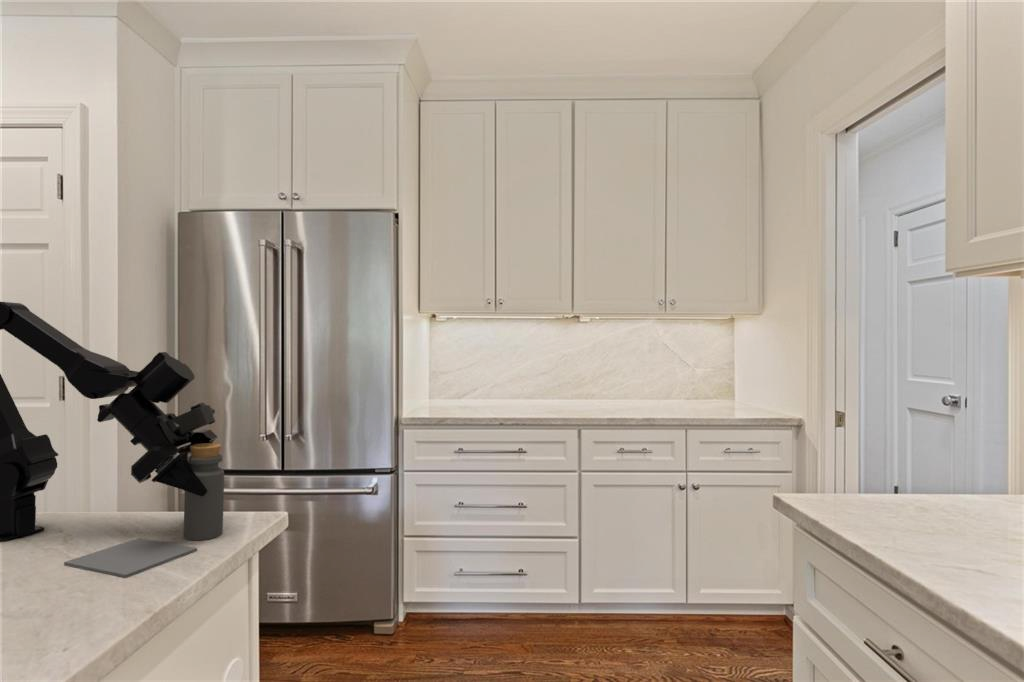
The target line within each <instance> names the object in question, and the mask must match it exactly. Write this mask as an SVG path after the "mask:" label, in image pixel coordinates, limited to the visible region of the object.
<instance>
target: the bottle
mask: <svg viewBox="0 0 1024 682" xmlns="http://www.w3.org/2000/svg"><path fill="white" fill-rule="evenodd" d="M221 449H222V445H221V444H220V443H217V442H216V443H214V442H213V443H202V444H195V445H191V446H190V450H191V455H192V456H190V457H188V463H189V464H192V471H193V472H194V473H195V474H196V476H197V477H198V478H199V480H200V481H201V482H202V484H203V485H204V486H205V488H206V489H207V491H208V492H207V493H206V494H205V495H204V496H199V495H196V494H193V493H190V492H187V491H185V490H184V499H183V500H184V503H183V505H184V506H183V507H184V509H183V538H184V539H186V540H188V541H206V540H207V541H208V540H211V539H215V538H218V537H221V536H222V534H223V529H224V503H225V502H224V498H225V497H224V496H225V495H224V494H225V470H224V469H223V468H221V467H220V466H219V463H221V462H223V455H222V454H220V452H221Z"/></svg>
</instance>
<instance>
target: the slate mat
mask: <svg viewBox="0 0 1024 682" xmlns="http://www.w3.org/2000/svg"><path fill="white" fill-rule="evenodd" d="M197 551H198V547H196V546H195V547H194V546H189V545H183V544H177V543H172V542H166V541H161V540H154V539H149V538H143V537H138V538H135V539H131V540H128V541H125V542H123V543H119V544H117V545H113V546H110V547H107V548H104V549H101V550H98V551H94V552H91V553H89V554H84V555H82V556H79V557H76V558H73V559H70V560H69V559H68V560H66V561H64V562H63V565H64V566H68V567H72V568H77V569H83V570H87V571H92V572H97V573H101V574H105V575H109V576H110V575H111V576H116V577H118V578H120V577H121V578H124V579H125V578H126V579H127V578H129V577H132V576H135V575H137V574H139V573H142V572H144V571H145V572H146V571H147V570H150V569H152V568H155V567H157V566H161V565H162V564H166V563H168V562H171V561H173V560H176V559H178V558H181V557H184V556H186V555H189V554H191V553H194V552H195V553H196V552H197Z"/></svg>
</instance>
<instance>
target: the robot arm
mask: <svg viewBox="0 0 1024 682" xmlns="http://www.w3.org/2000/svg"><path fill="white" fill-rule="evenodd" d="M2 330H4V331H5V332H7V333H9V334H10V335H11V336H13V337H14V338H16V339H18V341H20V342H21V343H22V344H25V345H26V346H27V347H29V348H31V350H33V351H35V352H36V353H38V354H39V355H41V356H42V357H43V358H45V359H47V360H48V361H49V362H51V363H53V364H54V365H55V366H57V367H58V369H60V370H61V371H62V372H63V373H64V374H63V375H65V377H66V380H67V381H68V382H69V384H70V385H72V387H73V388H75V389H76V390H77V392H79V393H80V395H82V396H83V397H84V398H87V399H90V400H96V399H98V400H99V399H105V398H109V397H110V398H111V397H115V398H114V399H113V400H112V401H111V402H110V403H106V404H100V405H99V406H98V410H99V411H98V414H97V419H96V420H97V422H98V423H103V422H108V421H112V420H113V419H115V420H116V421H117V422H118V423H119V424H120V425H121V426H122V427H123V428H124V429H125V430H126V431H127V432H128V433H129V434H130V435H131V436H132V437H133V438H132V439H130V442H131V444H132V445H133V446H136V445H141V446H142V447H143V448H144V449H145V450H146V452H144V453H143V455H142V456H141V457H140V458H139V459H137V460H136V462H134V463H133V464H132V465H130V466H131V467H130V470H131V471H130V476H132V477H133V478H134V479H135V480H136V481H137V482H138V483H139V484H141V483H143V482H146V481H148V480H149V479H150V480H151V482H152V483H156V482H157V483H159V484H163V485H165V486H166V485H167V486H170V487H173V488H176V489H179V490H182V491H184V492H185V491H187V492H190V493H193V494H196V495H199V496H204V495H205V494H206V493H207V492H208V491H207V489H206V488H205V486H204V485H203V484H202V482H201V481H200V480H199V478H198V477H197V476H196V474H195V473H194V472H193V471H192V464H189V463H188V457H190V456H192V455H191V450H190V446H191V445H195V444H202V443H214V442H215V441H216V440H217V439H218V436H217V435H216V434H215V432H213V431H212V429H201V430H198V429H200V428H202V427H204V426H207V425H212V424H214V423H216V420H215V416H214V414H216V413H215V412H216V411H215V409H214V408H212V407H211V405H209V404H208V405H207V404H206V403H205V402H200V403H197V404H196V405H192V406H190V410H189V411H187V412H184V413H182V414H179V415H176V414H174V413H170V412H169V413H167V414H166V413H165V412H164V411H162V409H161V408H160V407H159V406H158V405H157V404H159V403H164V404H169V403H170V402H171V401H172V400H174V398H175V397H177V396H178V395H179V393H181V392H183V390H184V389H185V388H186V387H187V386H188V385H189V384H191V383H192V382H193V381H194V380H195V374H194V372H193V371H192V369H191V368H190V367H189V366H188V365H187V364H186V363H183V362H181V360H179V359H177V358H175V357H173V356H170V354H169V353H167V351H162V352H158V353H157V354H156V355H155V356H154V357H153V358H152V359H151V361H150V362H148V363H147V364H146V365H145V366H144V367H143V368H142V369H141V370H139V371H136V370H130V368H129V367H127V366H126V365H125V364H124V363H121V362H119V361H117V360H115V359H113V358H111V357H108V356H106V355H103V354H99V353H97V352H94V351H91V350H89V349H86V348H85V347H83V346H82V345H80V344H79V343H77V342H76V341H75V340H73V339H72V338H70V337H69V336H68V335H66V334H64V333H63V332H61V331H60V330H59V329H57V328H56V327H54V326H53V325H51V324H49V323H48V322H47V321H46V320H44V319H42V318H41V317H40V316H38V315H37V314H36V313H34V312H33V311H31V310H30V309H29V307H28V306H26V305H24V304H22V303H21V302H9V301H0V331H2ZM129 388H132V389H131V390H130V391H129V392H127V391H128V390H129ZM126 392H127V393H126ZM195 430H198V431H195ZM58 456H59V453H58V452H57V451H56V450H55V449H54V447H53V446H52V442H51V439H50V437H49V435H48V434H41V435H37V436H36V434H34V433H33V432H31V431H30V430H29V429H28V427H27V426H26V424H25V422H24V420H23V417H22V415H21V412H19V409H18V407H17V405H16V404H15V401H14V399H13V397H12V395H11V393H10V391H9V389H8V386H7V384H6V382H5V380H4V378H3V377H2V374H1V373H0V542H4V541H9V540H12V539H15V538H19V537H23V536H26V535H31V534H34V533H38V532H41V531H42V532H43V531H44V530H45V526H41V525H36V521H37V519H36V517H37V516H36V515H37V514H36V513H37V505H36V500H37V499H36V497H37V496H36V495H35V493H37V492H39V491H44V490H45V489H46V487H47V485H48V482H49V480H50V479H51V478H52V477H53V476H54V474H55V471H56V469H57V468H58V461H57V458H56V457H58ZM153 472H155V473H156V475H155V476H154V477H153V478H152V479H151V477H152V473H153Z"/></svg>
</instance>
